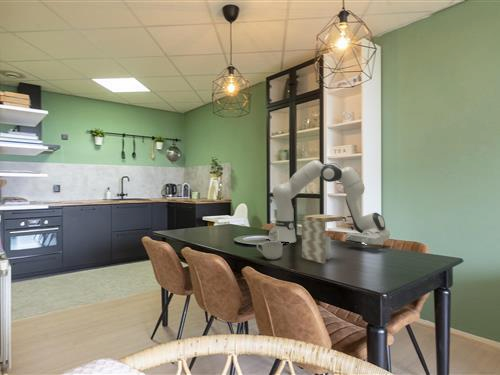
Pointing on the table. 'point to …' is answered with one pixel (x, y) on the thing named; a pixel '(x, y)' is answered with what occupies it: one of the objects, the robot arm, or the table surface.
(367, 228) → the robot arm
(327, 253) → the pale grey upright cylinder
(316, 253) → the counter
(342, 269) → the table surface
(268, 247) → the teacup
